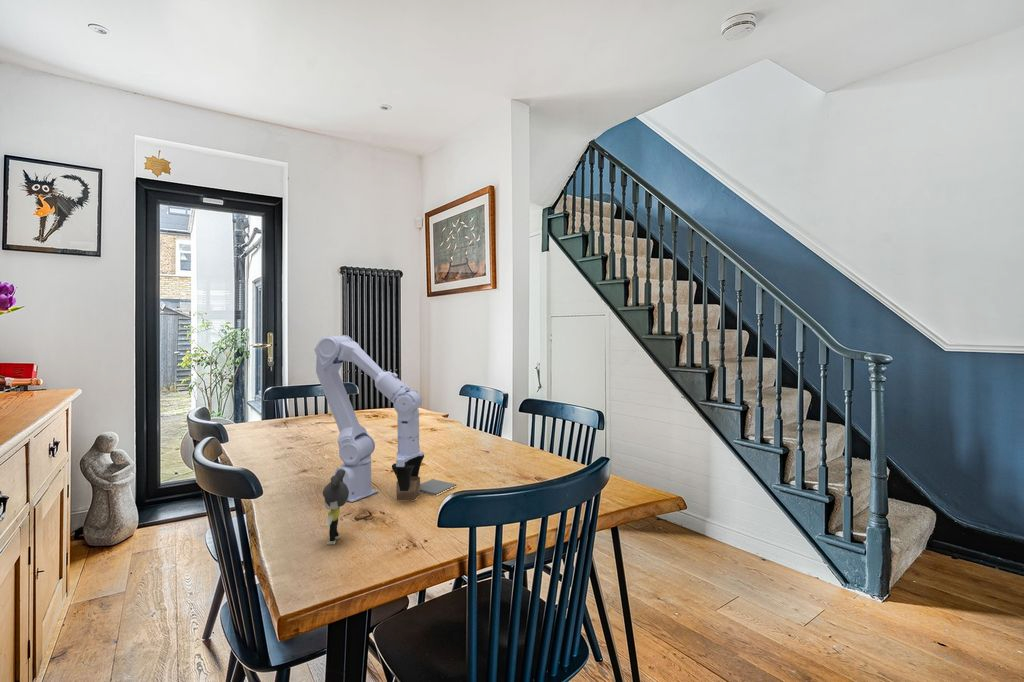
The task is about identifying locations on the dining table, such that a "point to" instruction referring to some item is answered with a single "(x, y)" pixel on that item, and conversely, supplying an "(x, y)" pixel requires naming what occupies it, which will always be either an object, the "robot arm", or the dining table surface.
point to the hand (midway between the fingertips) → (408, 485)
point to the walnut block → (412, 492)
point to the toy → (335, 502)
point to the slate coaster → (435, 486)
